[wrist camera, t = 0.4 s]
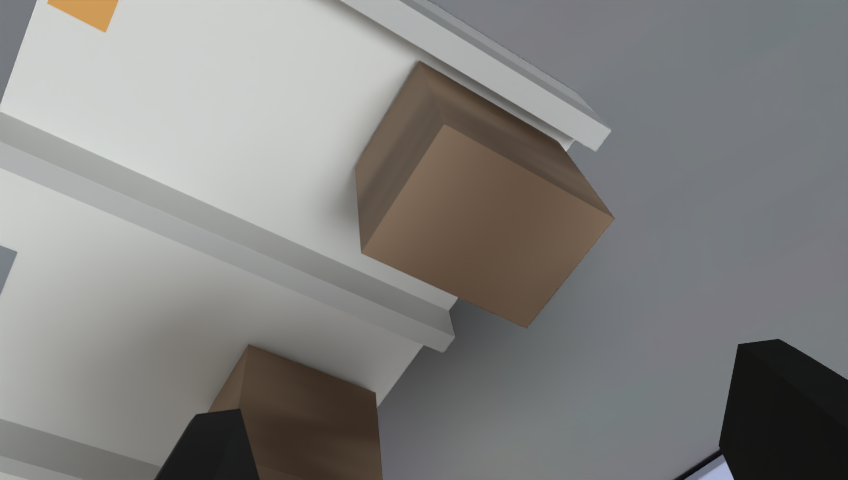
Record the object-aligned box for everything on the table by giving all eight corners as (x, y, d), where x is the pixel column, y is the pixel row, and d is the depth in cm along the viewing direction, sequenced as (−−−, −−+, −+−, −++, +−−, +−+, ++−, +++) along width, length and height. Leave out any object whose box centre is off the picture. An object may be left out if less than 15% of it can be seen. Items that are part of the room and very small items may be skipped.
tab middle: (375, 392, 21) (384, 504, 17) (327, 458, 22) (327, 576, 18) (248, 343, 19) (230, 456, 16) (204, 417, 20) (178, 537, 17)
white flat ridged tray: (576, 93, 19) (611, 130, 16) (217, 594, 27) (206, 665, 25) (124, -189, 14) (84, -192, 12) (-130, 509, 23) (-181, 586, 21)
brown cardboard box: (558, 141, 17) (614, 218, 14) (489, 235, 18) (526, 328, 15) (419, 60, 16) (444, 124, 12) (355, 167, 17) (360, 253, 13)
